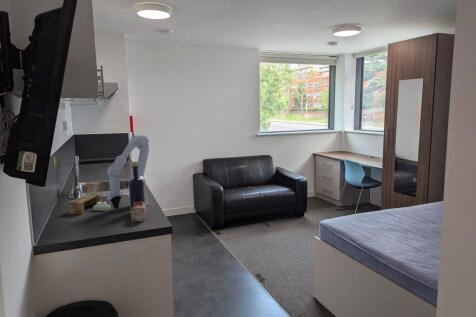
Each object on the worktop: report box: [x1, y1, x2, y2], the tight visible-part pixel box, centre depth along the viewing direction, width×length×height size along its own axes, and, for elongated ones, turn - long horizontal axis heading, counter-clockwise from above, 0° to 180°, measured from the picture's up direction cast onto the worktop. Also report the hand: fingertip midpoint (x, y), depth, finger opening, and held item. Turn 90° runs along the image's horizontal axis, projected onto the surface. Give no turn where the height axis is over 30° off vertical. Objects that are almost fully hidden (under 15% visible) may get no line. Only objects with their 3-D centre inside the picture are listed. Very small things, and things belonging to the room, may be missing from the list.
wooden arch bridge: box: [68, 193, 103, 215], centre depth 208 cm, size 9×19×7 cm, turn 170°
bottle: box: [128, 161, 145, 214], centre depth 198 cm, size 9×9×30 cm
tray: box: [92, 201, 112, 212], centre depth 206 cm, size 9×5×4 cm, turn 80°
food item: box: [130, 201, 147, 223], centre depth 187 cm, size 14×8×10 cm, turn 14°
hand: (116, 208), depth 205 cm, fingers closed
